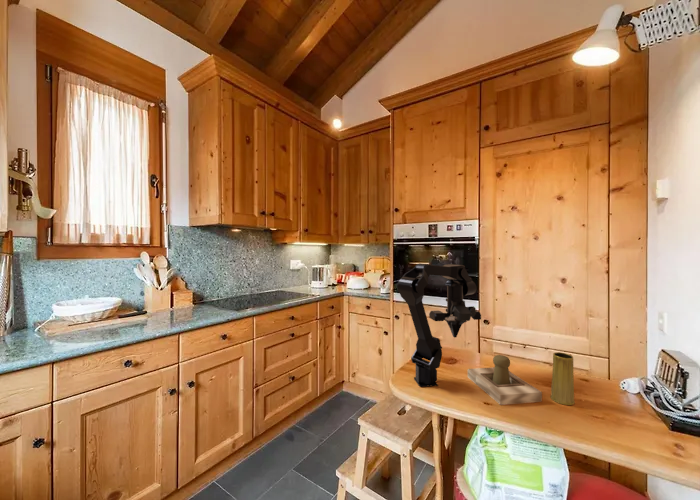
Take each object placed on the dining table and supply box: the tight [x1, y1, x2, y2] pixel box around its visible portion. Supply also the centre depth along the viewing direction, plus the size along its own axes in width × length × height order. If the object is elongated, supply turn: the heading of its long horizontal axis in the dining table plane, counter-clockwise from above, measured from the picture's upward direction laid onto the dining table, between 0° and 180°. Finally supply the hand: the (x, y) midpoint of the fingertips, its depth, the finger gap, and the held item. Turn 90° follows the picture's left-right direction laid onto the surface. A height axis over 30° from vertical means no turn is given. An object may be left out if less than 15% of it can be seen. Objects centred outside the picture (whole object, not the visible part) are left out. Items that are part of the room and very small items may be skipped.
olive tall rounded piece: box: [492, 354, 511, 385], centre depth 100 cm, size 6×6×11 cm
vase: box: [550, 351, 576, 406], centre depth 93 cm, size 6×6×14 cm
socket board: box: [467, 366, 543, 406], centre depth 100 cm, size 14×19×3 cm
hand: (454, 337), depth 114 cm, fingers closed
